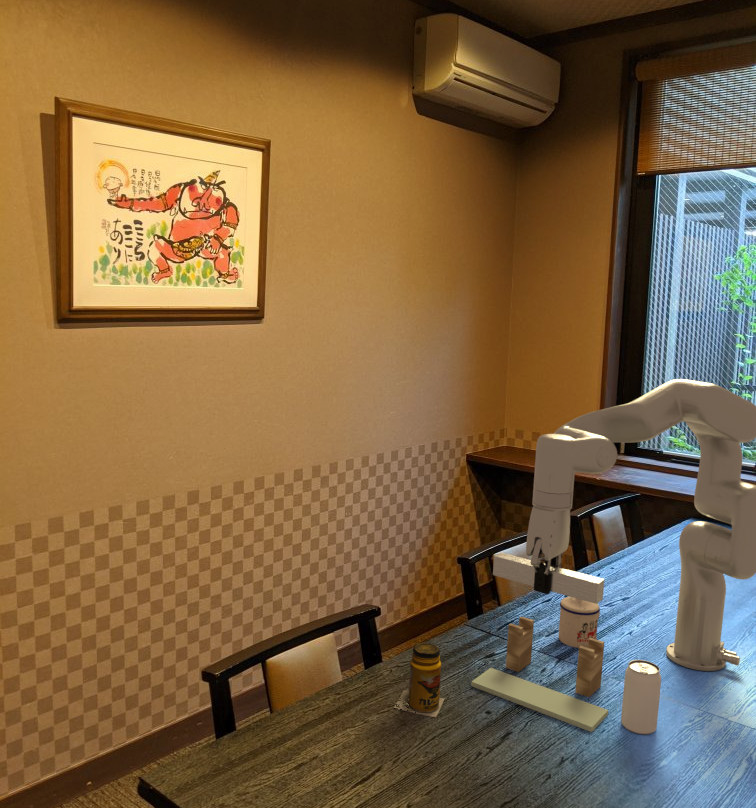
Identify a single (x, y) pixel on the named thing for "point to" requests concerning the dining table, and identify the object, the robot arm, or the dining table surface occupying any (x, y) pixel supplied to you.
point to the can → (641, 697)
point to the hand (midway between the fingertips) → (546, 588)
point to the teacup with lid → (578, 621)
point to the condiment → (424, 681)
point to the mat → (541, 699)
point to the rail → (560, 578)
